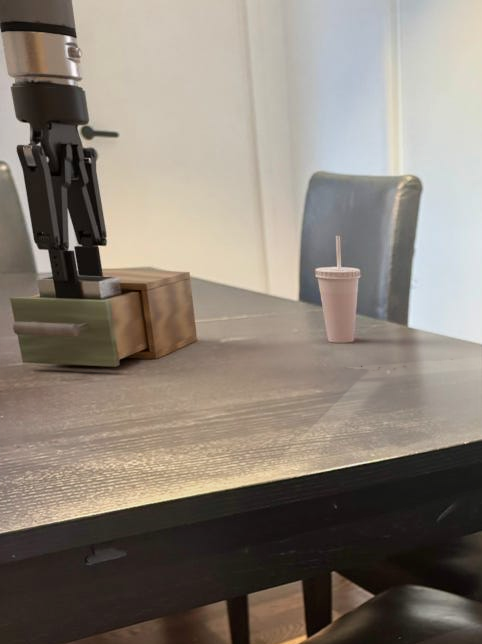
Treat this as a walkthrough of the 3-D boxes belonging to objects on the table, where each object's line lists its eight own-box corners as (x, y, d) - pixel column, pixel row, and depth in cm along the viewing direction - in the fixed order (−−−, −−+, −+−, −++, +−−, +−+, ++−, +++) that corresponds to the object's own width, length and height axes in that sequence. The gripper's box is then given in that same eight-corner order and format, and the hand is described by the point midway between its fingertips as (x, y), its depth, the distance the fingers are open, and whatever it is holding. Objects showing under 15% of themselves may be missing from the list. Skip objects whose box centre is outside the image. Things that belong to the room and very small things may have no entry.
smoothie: (328, 345, 129) (322, 237, 122) (312, 338, 133) (306, 234, 127) (370, 342, 131) (366, 237, 125) (353, 335, 136) (349, 233, 130)
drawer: (99, 374, 103) (87, 306, 100) (2, 369, 104) (-12, 302, 101) (161, 347, 119) (153, 288, 116) (76, 343, 120) (66, 284, 117)
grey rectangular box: (42, 310, 108) (36, 279, 106) (65, 304, 113) (59, 274, 111) (103, 313, 108) (98, 281, 106) (123, 307, 112) (119, 276, 111)
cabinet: (156, 359, 117) (146, 283, 112) (61, 354, 117) (47, 279, 113) (197, 340, 130) (189, 271, 125) (111, 336, 130) (101, 268, 126)
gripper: (36, 75, 91) (76, 318, 102) (117, 90, 108) (144, 298, 118) (-36, 73, 92) (12, 315, 102) (56, 89, 108) (89, 296, 119)
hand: (83, 306), depth 110 cm, fingers closed on grey rectangular box, 5 cm apart
